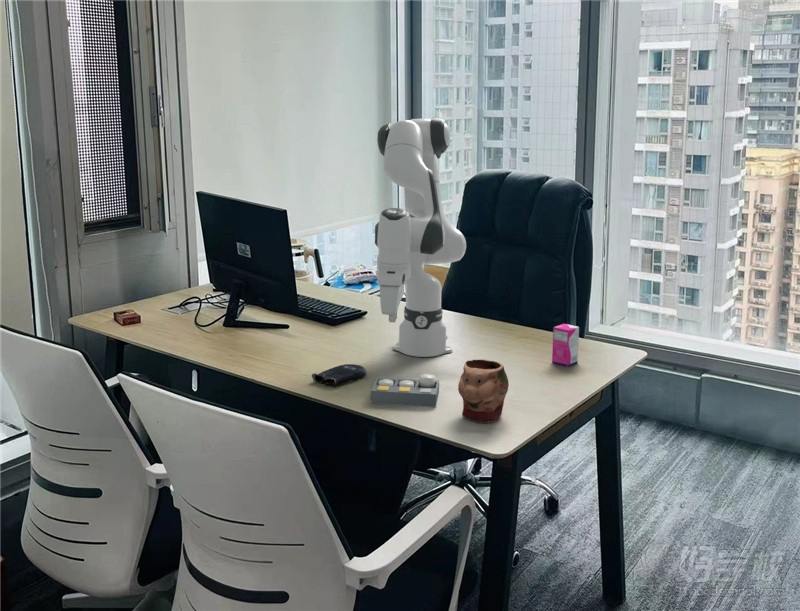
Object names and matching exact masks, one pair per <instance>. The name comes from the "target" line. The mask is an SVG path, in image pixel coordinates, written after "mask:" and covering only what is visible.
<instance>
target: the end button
mask: <svg viewBox="0 0 800 611" xmlns="http://www.w3.org/2000/svg"><path fill="white" fill-rule="evenodd" d="M379 385H384V386H393V381H392V380H389V379H383V380H380V381H379Z"/></svg>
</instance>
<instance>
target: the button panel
mask: <svg viewBox="0 0 800 611" xmlns="http://www.w3.org/2000/svg"><path fill="white" fill-rule="evenodd" d="M383 379H389V380H392V381H393V386H384V385H379V381H380V380H383ZM404 380H409V381H413V382H414V387H403V386H399V382H400V381H404ZM370 391H371V392H370V393H371V395H370V396H371V397H370V398H371V400H370V402H371V404H377V405H393V406H412V407H428V408H430V407H432V408H436V407H437V403H438V398H439V394H440V380H438V379H437V380H436V379H435V386H434V387H432V388H423V387H421V386H420V378H405V377H404V378H401V377H399V378H398V377H386V376H385V377H383V376H381V377H380V376H377V378H376V379H375V381H374V384H373V387H372V389H371V390H370Z"/></svg>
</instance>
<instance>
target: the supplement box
mask: <svg viewBox="0 0 800 611" xmlns="http://www.w3.org/2000/svg"><path fill="white" fill-rule="evenodd" d="M579 335H580V327H579V326H577V325H572V324H568V323H567V324H566V323H562V324H559V325H555V326H554V327H552V350H551V351H552V353H551V355H552V358H551V363H552V362H553V363H552V364H556V363H557V364H556V365H559V364H561V365H560V366H563V365H564V366H563V367H566V366H568V367H570V366H572V364H573V365H575V364H574V363H576V362H578V359H579V358H578V357H579V340H580V339H579V338H580V336H579ZM578 363H579V362H578ZM576 364H577V363H576ZM569 365H570V366H569Z"/></svg>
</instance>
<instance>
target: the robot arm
mask: <svg viewBox="0 0 800 611" xmlns="http://www.w3.org/2000/svg"><path fill="white" fill-rule="evenodd" d="M376 138H377V140H376V142H377V147H378V149H379V153H380V155H382V156H383V165H384V166H383V167H384V168H383V169H384V172H385V174H386V176H387V177H388V179H389V180H390V181H391V182H392V183H394V184H396V185H397V186H399V187H402V188H404V189H403V190H404V208H405V209H403V208H400V207H391V208H386V209H384V210H382V211H381V212H380V214H379V220H378V222H377V223H376V224H375V226H374V245H376V246H375V247H377V248H378V255H377V258H376V277H377V278H376V279H377V282H376V283H377V286H379V301H380V302H379V303H380V311H381V314H382V315H385V316H386V315H387V316H388V321H389V323H396V322H397V319H398V308H399V306H400V303H401V301H402V299H403V297H404V293H405V305H404V310H403V318H404V319H403V320H402V321H401V323H399V324H398V325H399V326H398V341H397V342H395V344H394V345H392V350H395V351H397V352H400V353H402V354H404V355H407V356H411V357H419V358H420V357H422V358H423V357H424V358H427V357H437V356H440V355H443V354H451V353H452V352H453V348H452V346H451V344H450V341H449V339H448V335H447V326H446V324H445V323H444V322H443V307H442V288H443V287H442V283H441V282H440V280H439V279H438V278H436V276H433V275H431V274H429V273H427V272H425V271H424V265H435V264H436V265H443V264H450V263H455V262H458V261H461V259H462V258H463V257H464V255H465V254H466V250H467V241H466V237H465V235H464V234H463V233H462V232H461V231H460V230H459V229H458V228H456V227H455V226H454V225H453V224H452V223H451V222H450V220H449V219H448V217H447V216H446V214H445V211H444V208H443V205H442V197H441V196H442V195H441V183H440V182H441V181H440V172H439V171H440V170H439V167H438V166H439V165H438V159H440V158H441V157H442V155H443V154H444V153H445V152H446V151H447V150H448V148H449V145H450V140H451V131H450V127H449V125H448V124H447V121H446V120H445V119H444V118H441V117H431V118H411V119H410V120H409V119H401V120H398V121H396V122H394V123H392V122H390V123H386V124H384V125H382V126H381V127H380V128H379V129H378V132H377V137H376ZM410 215H411V216H410Z"/></svg>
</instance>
